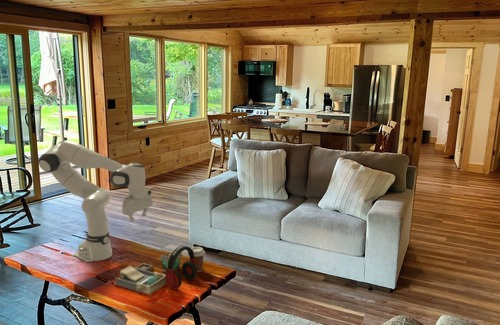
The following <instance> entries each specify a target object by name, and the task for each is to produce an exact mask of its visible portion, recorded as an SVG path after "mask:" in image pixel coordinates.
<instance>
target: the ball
mask: <svg viewBox="0 0 500 325" xmlns="http://www.w3.org/2000/svg"><path fill="white" fill-rule="evenodd" d="M156 281H157V278H156V277H154V276H152V277H150V278H148V280H147V284H148V285H149V286H150V285H152V284H153V283H155V282H156Z"/></svg>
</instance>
